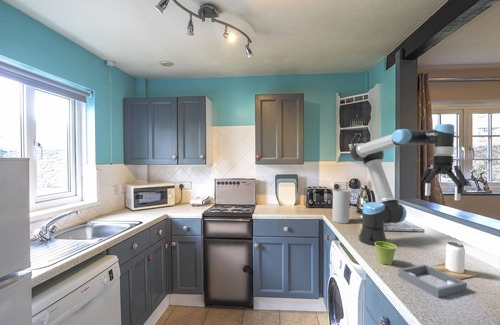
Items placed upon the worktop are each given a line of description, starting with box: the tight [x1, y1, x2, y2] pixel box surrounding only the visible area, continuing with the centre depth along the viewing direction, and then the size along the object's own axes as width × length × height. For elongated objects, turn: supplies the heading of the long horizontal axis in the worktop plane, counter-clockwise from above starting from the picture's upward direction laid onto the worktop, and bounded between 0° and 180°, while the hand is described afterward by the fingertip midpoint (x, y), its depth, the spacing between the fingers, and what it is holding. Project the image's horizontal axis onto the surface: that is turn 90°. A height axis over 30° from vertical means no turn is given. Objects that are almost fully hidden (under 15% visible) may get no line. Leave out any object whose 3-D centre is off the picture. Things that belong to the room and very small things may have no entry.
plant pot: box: [375, 241, 398, 265], centre depth 114 cm, size 9×9×9 cm
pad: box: [430, 263, 480, 281], centre depth 106 cm, size 12×12×1 cm
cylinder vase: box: [331, 188, 351, 224], centre depth 185 cm, size 12×12×25 cm
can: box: [445, 241, 466, 274], centre depth 106 cm, size 6×6×12 cm
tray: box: [397, 264, 468, 298], centre depth 95 cm, size 16×16×3 cm
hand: (441, 197), depth 116 cm, fingers open, 13 cm apart
